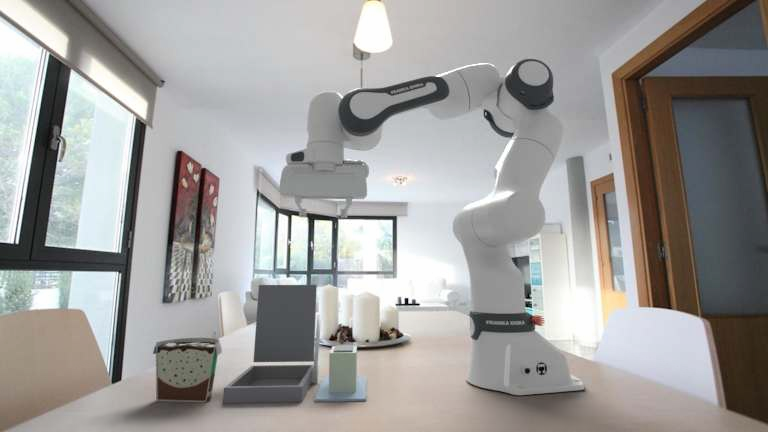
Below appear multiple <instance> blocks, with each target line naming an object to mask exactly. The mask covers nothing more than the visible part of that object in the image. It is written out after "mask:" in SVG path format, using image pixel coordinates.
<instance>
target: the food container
mask: <svg viewBox="0 0 768 432" xmlns="http://www.w3.org/2000/svg"><path fill="white" fill-rule="evenodd" d="M222 349H223V348H222V344H221V343H220V340H219V339H218V338H214V337H212V338H211V337H184V338H183V337H182V338H172V339H167V340H165V339H164V340H160V341H156V342H155V345H154V348H153V350H152V351H153V352H152V354H153V355H155V379H156V380H155V385H156V386H155V391H156V395H155V397H156V398H155V399H156V400H155V402H176V403H177V402H179V403H183V402H184V403H208V402H209V401H211V399H212V393H213V389H214V388H213V387H214V381H215V375H216V369H217V362H218V356H219V355H221V354H222V352H223V350H222Z"/></svg>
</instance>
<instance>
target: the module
mask: <svg viewBox="0 0 768 432" xmlns="http://www.w3.org/2000/svg"><path fill="white" fill-rule="evenodd" d="M357 350H358V346H357V345H354V344H344V345H342V344H341V345H340V344H339V345H338V344H337V345H336V344H335V346H334V345H332V346H331V349H330V351H329V362H328V364H329V365H328V366H329V368H328V377H329V392H356V383H357V372H358V371H357V370H358V369H357V367H358V361H357V360H358V351H357Z"/></svg>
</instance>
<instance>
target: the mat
mask: <svg viewBox="0 0 768 432" xmlns="http://www.w3.org/2000/svg"><path fill="white" fill-rule="evenodd" d="M366 401H367V376H366V375H365V376H357V383H356V392H329V376H324V377H323V378H322V380H321V382H320V385H319V388H318V390H317V393H316V394H315V398H314V403H316V402H317V403H318V402H319V403H321V402H323V403H325V402H328V403H329V402H366Z"/></svg>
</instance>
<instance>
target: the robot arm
mask: <svg viewBox="0 0 768 432" xmlns="http://www.w3.org/2000/svg"><path fill="white" fill-rule="evenodd" d="M553 87H554V75H553V72H552V70H551V68H550V67H549V66H548V65H547V64H546V63H545V62H543V61H542V60H540V59H535V58H524V59H522V60H519V61H518V62H516V63H515V64H514V65H513V66H512V67H511V68H510V69H509V70H508V72H507V74H506V76H505V78H504V77H502V76H501V74H500V71H499V69H498V68H497V67H496V66H495V65H494V64H491V63H489V62H488V63H487V62H483V63H477V64H471V65H465V66H462V67H459V68H456V69H454V70H451V71H448V72H444V73H441V74H438V75H432V76H431V75H429V76H424V77H421V78H416V79H412V80H408V81H405V82H400V83H396V84H392V85H388V86H384V87H377V88H375V87H358V88H355V89H352V90H349V91H348V92H347V93H346V94H344V96H342V95H341V94H340V93H339V92H336V91H331V90H330V91H323V92H320V93H318V94H316V95H315V96H313V97H312V99H311V100H310V103H309V107H308V113H307V124H306V131H307V134H308V135H307V136H308V137H307V138H308V140H307V142H306V148H303V149H301V150H297V151H294V152H290V153H287V154H286V155H285V161H286V165H285V166H284V167H283V168H282V171H281V174H280V175H281V176H280V180H279V189H278V190H279V191H278V192H279V194H280V195H281V196H282V198H284V199H294V203H295V205H296V206H297V208H298V209H299V210H298V216H299V218H307V217H308V216H307V214H308V211H307V209H306V208H303V206H302V204H303V200H304V199H307V200H309V199H310V200H311V199H313V200H315V199H316V200H317V199H318V200H319V199H320V200H326V199H328V200H345V203H346V205H345V207H344V208H342V209H341V208H340V219H341V218H343V219H344V218H346V219H347V218H348V211H349V210H350V208H351V206H352V204H353V200H365V198H367V196H368V185H367V178H368V177H369V175H370V174H369V172H370V168H369V165H368V163H366V162H365V161H363V160H361V159H356V160H352V159H344V157H345V156H344V155H345V154H344V153H345V149H348V150H349V149H350V150H356V151H369V150H372V149H373V148H375V147H377V145H378V144H379V142H380V141H381V138H382V133H383V126H384V124H385V123H386V122H387V120H389V119H390V118H392V117H396V116H399V115H401V114H405V113H406V114H407V113H409V112H412V111H416V110H420V109H427V111H428V112H429V113H430V114H431V115H432V116H433V117H435V118H436V119H438V120H441V121H443V120H445V121H446V120H450V119H451V120H452V119H455V118H459V117H461V116H463V115H467V114H469V113H472V112H474V111H477V110H481V109H482V110H483V118H484V119H485V120H486V121H487V122H488V124H489V125H490V127H491V129H492V130H493V131H494V132H495V133H497V134H498V135H499V136H501V137H503V138H507V139H508V138H509V139H510V140H509V141H508V144H507V145H506V147H505V149H504V151H503V153H502V155H501V156H500V158H499V160H498V161H497V163H496V165H495V167H494V170H493V177H494V179H495V181H494V185H493V188H492V189H491V191H490V192H489V194H488V195H487V196H485V197H484V198H483V199H480V200H477V201H474V202H472V203H468V204H466V205H465V206H464V207H463V208H462V209H461V210H459V211H458V213H456V215H455V217H454V218H453V222H452V232H453V234H454V236H455V239H456V240H457V241H458V242H459V243H460V244H461V247H462V251H463V254H464V258H465V260H466V264H467V268H468V274H469V280H470V281H469V283H470V303H471V310H470V311H469V321H468V322H469V323H468V325H469V335H470V339H471V343H470V344H471V346H470V357H469V364H468V368H467V374H466V376H465V377H466V378H465V379H466V381H467V383H469V384H471V385H473V386H476V387H479V388H483V389H488V390H493V391H497V392H498V391H499V392H504V393H506V394H510V395H512V396H513V395H514V396H526V395H535V394H536V395H537V394H538V395H539V394H550V393H551V394H552V393H563V392H573V391H582V390H584V389H585V387H584V382H583V381H582V380H581V379H580V378H578V377H576V376H575V375H573V374H571V371H570V367H569V366H570V365H569V363H568V360H567V358H566V355H565V353H564V352H563V351H562V350H561V349H560V348H558V347H557V346H556V345H555V344H553V343H552V342H551V341H549V340H548V339H547V338H545V336H543V335H541V334H540V333H539V332H538V331H536V326H538V327H541V326H542V327H543V326H544V324H545V318H544V317H543V316H542V315H538V314H534V315H533V314H531V313H529V312H527V311H526V310H527V309H526V295H525V291H526V290H525V278H524V274H523V273H522V271H521V270H520V269H519V268H518V267H517V266H516V265H515V263H514V261H513V259H512V256H511V254H510V250H509V245H516V244H518V245H519V244H520V243H523V242H527V240H529V239H531V238H533V237H535V236H537V235H538V234H539V233H541V232H542V230H543V228H544V226H545V223H546V211H545V207H544V205H543V203H542V201H541V199H540V193H541V189H542V187H543V184H544V182H545V181H546V178H547V176H548V174H549V171H550V169H551V168H552V166H553V163H554V162H555V159H556V157H557V156H558V152H559V150H560V148H561V147H560V146H561V144H562V140H563V135H564V125H563V122H562V121H561V120H560V118H559V117H557V116H556V115H554V114H552V113H551V112H550V110H549V106H551V105H552V104H553V102H554V101H555V99H554V98H555V97H554V89H553Z"/></svg>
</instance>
